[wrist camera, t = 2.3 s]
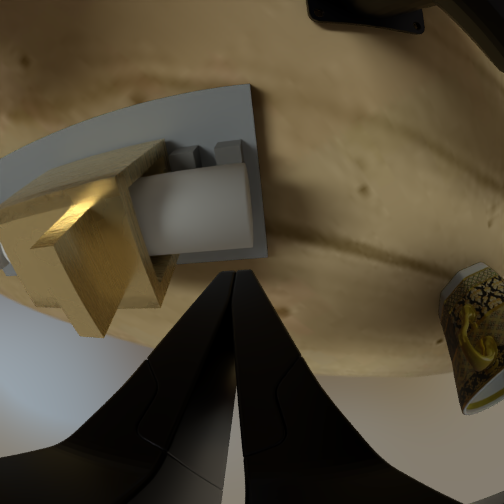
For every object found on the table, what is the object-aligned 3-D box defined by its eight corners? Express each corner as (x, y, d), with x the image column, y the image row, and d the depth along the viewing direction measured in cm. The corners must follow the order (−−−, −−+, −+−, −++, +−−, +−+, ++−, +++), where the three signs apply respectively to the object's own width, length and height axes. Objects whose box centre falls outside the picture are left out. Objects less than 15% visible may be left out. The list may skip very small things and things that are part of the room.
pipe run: (249, 83, 13) (245, 85, 8) (267, 249, 18) (270, 318, 13) (-30, 176, 14) (-74, 208, 10) (10, 270, 20) (-21, 311, 15)
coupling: (164, 138, 13) (76, 211, 6) (186, 236, 16) (145, 355, 10) (49, 169, 14) (-44, 242, 7) (78, 248, 17) (15, 339, 10)
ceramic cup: (515, 267, 19) (567, 338, 11) (456, 336, 24) (489, 412, 16) (454, 209, 16) (542, 307, 8) (377, 309, 21) (415, 421, 13)
